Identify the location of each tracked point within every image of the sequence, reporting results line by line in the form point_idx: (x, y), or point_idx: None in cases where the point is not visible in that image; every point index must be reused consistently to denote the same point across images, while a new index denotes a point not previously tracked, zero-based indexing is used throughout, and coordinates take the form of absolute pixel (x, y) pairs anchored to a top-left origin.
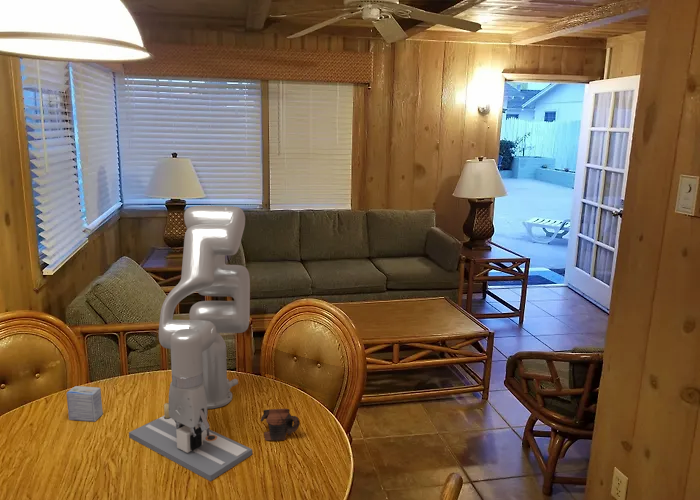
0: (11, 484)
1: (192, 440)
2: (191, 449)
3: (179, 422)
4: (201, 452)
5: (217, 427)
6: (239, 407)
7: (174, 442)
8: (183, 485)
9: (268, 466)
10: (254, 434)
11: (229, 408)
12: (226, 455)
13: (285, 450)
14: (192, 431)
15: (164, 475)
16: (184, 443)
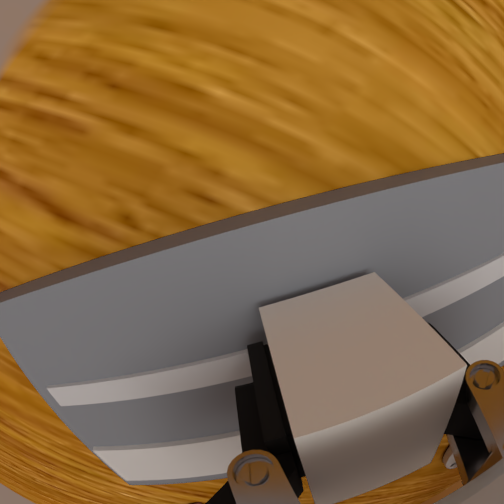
0: None
1: (260, 411)
2: (253, 346)
3: (469, 500)
4: (213, 374)
5: None
6: (406, 476)
7: (435, 279)
8: (17, 159)
9: (49, 455)
10: None
11: None
12: (123, 433)
13: (117, 501)
14: (267, 497)
15: (175, 82)
16: (309, 340)
